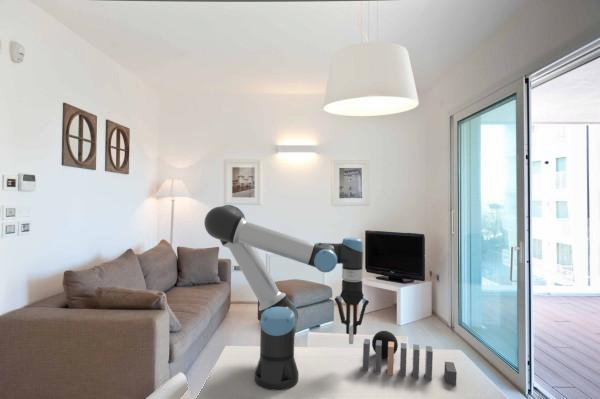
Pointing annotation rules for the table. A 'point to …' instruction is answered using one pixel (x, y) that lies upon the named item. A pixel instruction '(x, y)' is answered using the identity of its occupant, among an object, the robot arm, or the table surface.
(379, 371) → the domino
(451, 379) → the block
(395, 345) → the black ball
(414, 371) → the domino
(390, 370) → the domino
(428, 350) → the domino
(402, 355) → the domino
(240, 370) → the table surface
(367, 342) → the domino
